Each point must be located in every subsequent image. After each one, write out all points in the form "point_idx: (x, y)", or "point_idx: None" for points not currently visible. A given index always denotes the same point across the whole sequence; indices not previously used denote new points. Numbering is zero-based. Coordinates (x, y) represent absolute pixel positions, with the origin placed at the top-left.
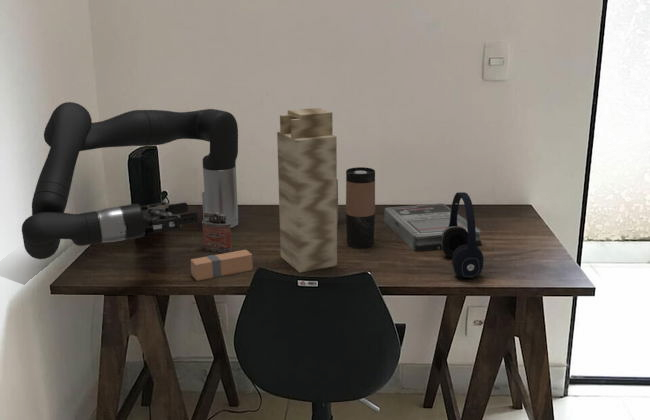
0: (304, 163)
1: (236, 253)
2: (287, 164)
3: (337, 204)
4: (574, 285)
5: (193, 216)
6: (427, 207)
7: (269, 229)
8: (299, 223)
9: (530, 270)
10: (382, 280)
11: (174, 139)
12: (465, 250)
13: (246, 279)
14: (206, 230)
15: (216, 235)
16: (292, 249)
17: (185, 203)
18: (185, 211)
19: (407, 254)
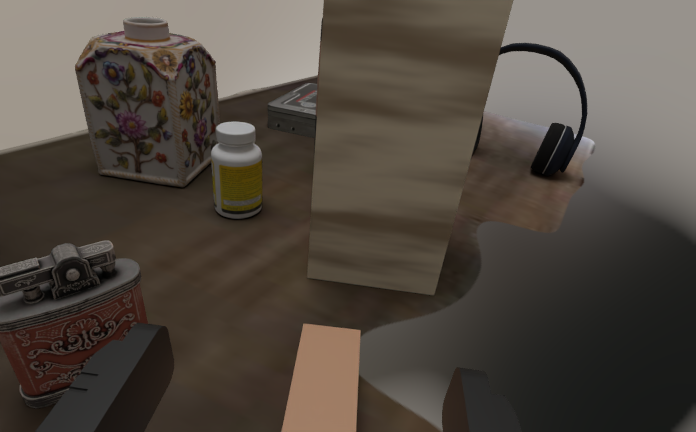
0: None
1: (319, 361)
2: None
3: (218, 114)
4: (589, 142)
5: (514, 419)
6: (310, 91)
7: (114, 218)
8: (465, 175)
9: (534, 139)
10: (529, 227)
11: None
12: (570, 133)
13: (423, 419)
14: (36, 341)
15: (97, 333)
16: (398, 250)
17: (157, 332)
18: (165, 385)
19: None
